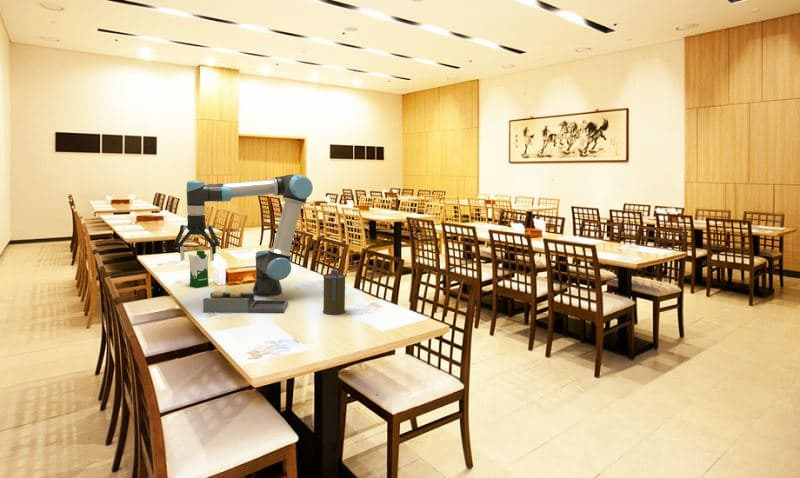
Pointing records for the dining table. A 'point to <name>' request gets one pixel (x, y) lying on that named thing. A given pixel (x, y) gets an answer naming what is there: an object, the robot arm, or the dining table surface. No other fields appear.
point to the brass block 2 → (236, 295)
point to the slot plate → (228, 303)
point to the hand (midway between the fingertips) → (197, 260)
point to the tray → (268, 306)
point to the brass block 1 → (218, 295)
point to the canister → (334, 293)
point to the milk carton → (198, 269)
